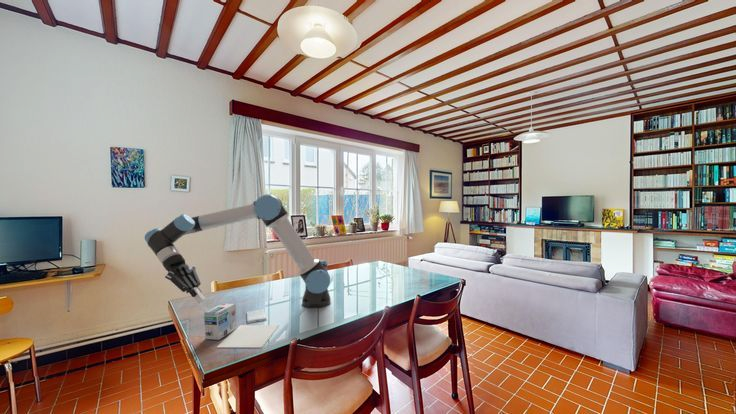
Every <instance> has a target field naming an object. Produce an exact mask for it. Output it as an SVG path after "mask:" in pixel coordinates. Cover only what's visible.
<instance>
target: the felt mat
mask: <svg viewBox="0 0 736 414" xmlns="http://www.w3.org/2000/svg"><path fill="white" fill-rule="evenodd" d="M279 326H280V325H279V324H277V325H276V324H267V325H266V324H240V325H239V326H238V327H236V329H235V330H234V331H232V332H231V333H229V334H228V336H227V337H226V338H225V339H223V340H222V341H221V342H220V343H219V344H218V345H217V346H216V349H262V348H264V346H265V345H266V344H267V342H268V341H269V339H270V338H271V337H272V336H273V334H274V333H275V332H276V331H277V329H278V328H279Z"/></svg>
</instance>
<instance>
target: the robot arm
mask: <svg viewBox="0 0 736 414" xmlns="http://www.w3.org/2000/svg"><path fill="white" fill-rule="evenodd" d="M288 215H289V212H287V210H286V208H285V207H284V205H283V202H282V200H281V199H280V198H279V197H278V196H275V195H274V194H270V193H269V194H263V195H261V196H259V197H258V198H257V199H256V200H255V201H254V200H253V201H252V203H250V204H246V205H242V206H236V207H233V208H228V209H223V210H220V211H219V210H218V211H216V212H215V211H214V212H211V213H205V214H201V215H197V216H192V217H191V216H189V215H188V214H184V213H182V214H180V215H179V216H177V217H175V218H174V219H173V220H171V222H169V223H168V224H167V225H166V226H164V227H163V228H160V227H157V228H153V229H151V230H149V231H147V232H146V234H145V235H144V241H145V242H146V244H147V246H148V247H149V248H150V250H151V251H152V252H153V254H154V255H155V256H156V258H157V259H158V261H159V262H160V263H161V264H162V266H163V267H164V269H165V271H167V274H166V275H165V276H164V278H165V279H167V280H169V281H170V282H171V283H173V284H174V285H175V286H176V287H177V288H178V289H179V290H180V291H181V292H183V293H186V294H190V296H191V297H192V298H194V299H195V301H196V302H197V304H199V305H200V304H202V303H203V302H204V301H205V300H206V297H205V296H204V295H203V292H202V290H201V289H200V287H199V286H200V285H201V284H202V282H201V280H200V278H199V275H198V274H197V271H196V266H192V267H191V266H189V265H188V264H187V263H186V260H185V258H184V257H183V256H182V254H181V252H180V251H179V250H178V248H177V247H176V246H175V245H174V243H176V242H177V241H178V240H180V238H182V237H183V236H185V235H189V234H194V233H195V234H196V233H199V232H202V231H207V230H210V229H215V228H219V227H224V226H227V225H233V224H237V223H241V222H244V221H249V220H253V219H257V220H261V221H262V222H263V224H264V225H265V226H266V228H269V229H271V230H272V231H273V232H274V233H275V235H276V237H277V238H278V240H279V241H280V243H281V244H282V246H283V248H285V250H286V251H287V253H288V255H289V256H290V257H291V259H292V260H293V262H294V263H295V265H296V266H297V267H298V269H299V272H298V274H299V276H300V278H301V279H302V280H303V282H304V284H305V290H304V293H303V296H302V298H301V300H302V301H301V305H302V306H303V307H306V308H312V309H313V308H322V307H323V308H324V307H326V306H328V305H330V304H331V301H332V300H331V296H330V293H329V287H330V285H331V284H330V283H331V275H330V274H329V271H328V266H329V265H328V261H327V260H325V259H324V260H323V259H321V260H320V259H318V258H315V257H314V255H313V254H312V253H311V251H310V250H309V248H308V246H307V245H306V244H305V242H304V241H303V239H302V238H301V237H300V234H299V233H298V231H296V229H295V228H294V226H293V224H292V223H291V222H290V220H289V218H288Z"/></svg>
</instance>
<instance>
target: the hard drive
mask: <svg viewBox="0 0 736 414" xmlns="http://www.w3.org/2000/svg"><path fill="white" fill-rule="evenodd" d="M246 321H247V322H246V323H247V324H251V323H258V322H264V321H265V322H266V321H267V314H266V310H265V309H264V308H262V309H256V310H254V309H253V310H249V311H247V312H246Z"/></svg>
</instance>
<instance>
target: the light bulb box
mask: <svg viewBox="0 0 736 414" xmlns="http://www.w3.org/2000/svg"><path fill="white" fill-rule="evenodd" d="M236 305H237V304H236V303H222V302H221V303H220V304H219V305H217V306H214V307H212V308H210V309H208V310H206V311H204V312H203V314H204V315H203V316H204V317H203V318H204V339H205V340H215V341H218V340H221V339H223V338H225V337H226V336H227V335H228V336H229V335H230V334H231V333H232V332H233V331H235V330H236V329H237V309H236Z"/></svg>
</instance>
